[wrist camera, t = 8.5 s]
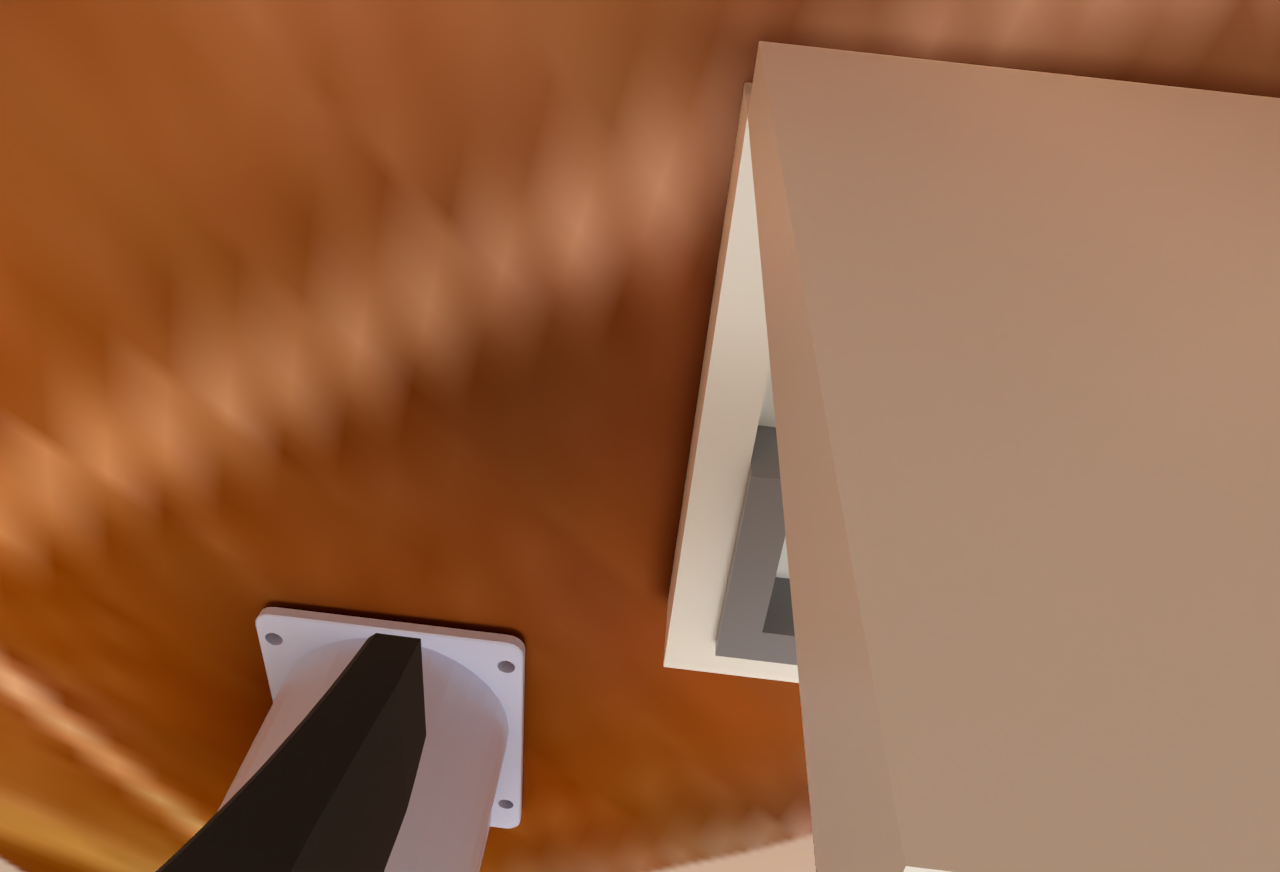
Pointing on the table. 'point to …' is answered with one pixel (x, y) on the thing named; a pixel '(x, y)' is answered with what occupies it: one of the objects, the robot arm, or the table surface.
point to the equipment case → (998, 462)
